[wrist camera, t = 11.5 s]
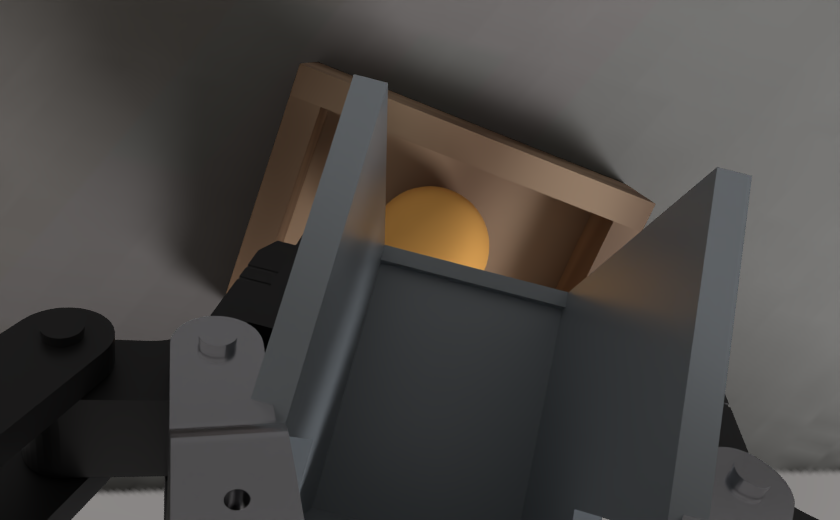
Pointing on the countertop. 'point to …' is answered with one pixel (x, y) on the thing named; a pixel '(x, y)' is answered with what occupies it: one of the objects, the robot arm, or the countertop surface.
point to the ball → (437, 226)
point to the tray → (451, 184)
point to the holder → (500, 361)
